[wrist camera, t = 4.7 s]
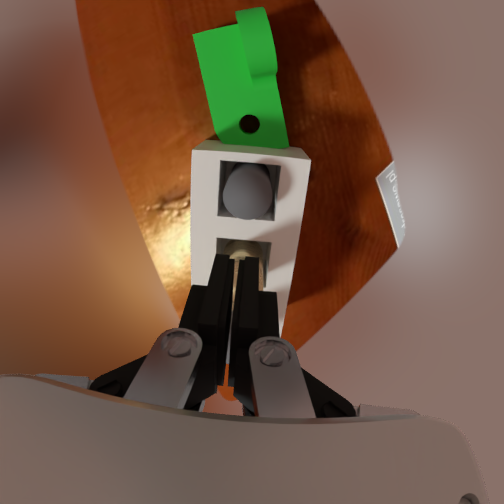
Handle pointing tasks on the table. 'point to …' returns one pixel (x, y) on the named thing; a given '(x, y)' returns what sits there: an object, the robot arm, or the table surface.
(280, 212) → the white peg holder block
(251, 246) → the brass knob
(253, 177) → the near knob
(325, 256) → the table surface
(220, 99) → the mechanical part
